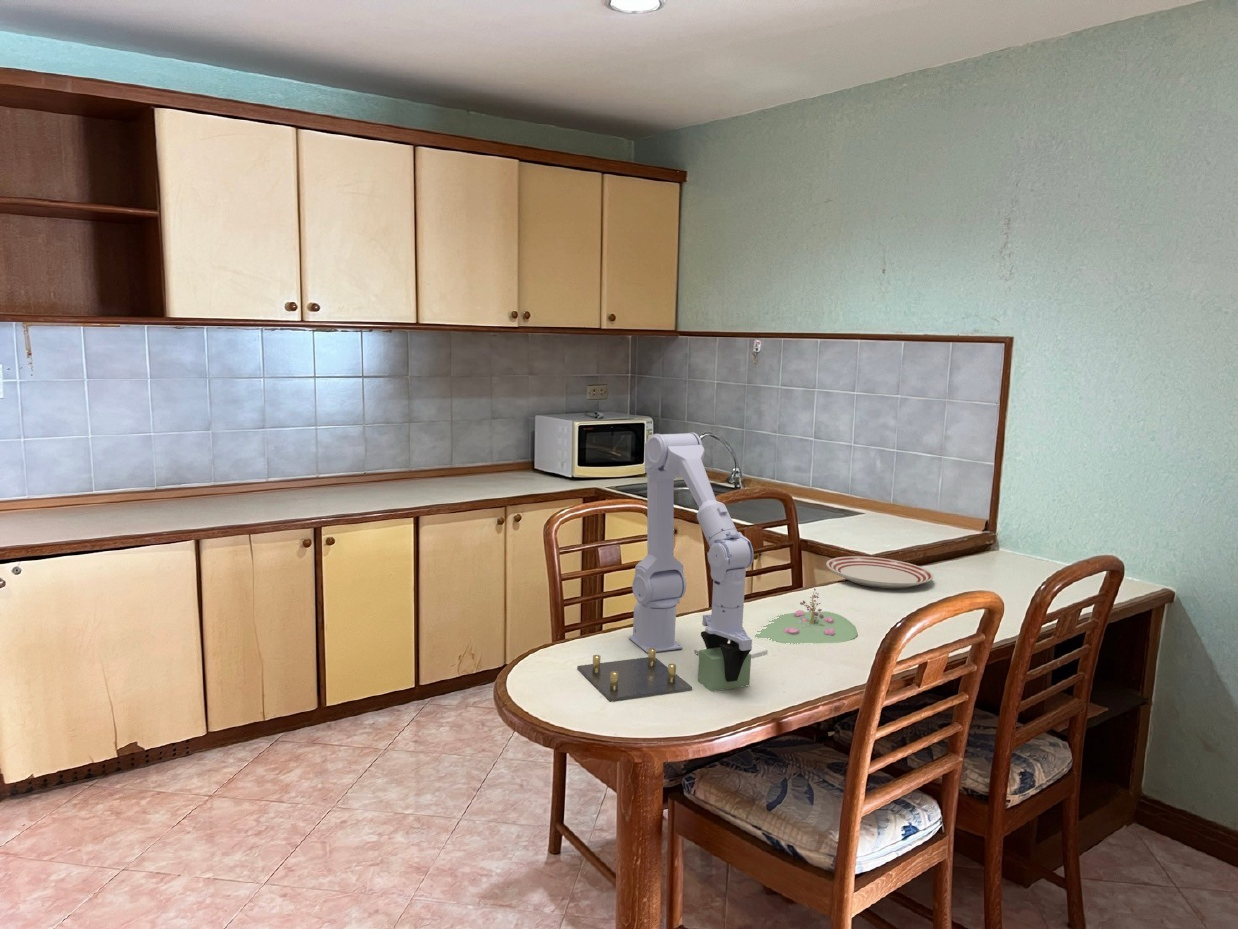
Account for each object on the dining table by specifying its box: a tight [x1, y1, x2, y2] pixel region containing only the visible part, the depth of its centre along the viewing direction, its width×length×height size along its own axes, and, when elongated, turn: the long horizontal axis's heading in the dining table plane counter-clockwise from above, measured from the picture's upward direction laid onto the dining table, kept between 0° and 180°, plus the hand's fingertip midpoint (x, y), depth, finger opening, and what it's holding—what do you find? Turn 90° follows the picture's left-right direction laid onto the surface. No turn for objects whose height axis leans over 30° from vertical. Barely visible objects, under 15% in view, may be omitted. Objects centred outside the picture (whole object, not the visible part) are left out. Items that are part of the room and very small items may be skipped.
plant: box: [754, 587, 859, 645], centre depth 199 cm, size 25×21×9 cm
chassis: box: [576, 648, 693, 703], centre depth 168 cm, size 16×16×4 cm
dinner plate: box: [825, 555, 934, 590], centre depth 243 cm, size 28×27×3 cm
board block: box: [697, 647, 752, 692], centre depth 168 cm, size 5×8×6 cm, turn 114°
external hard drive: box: [693, 640, 769, 659], centre depth 184 cm, size 2×8×12 cm
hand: (723, 675), depth 168 cm, fingers closed on board block, 5 cm apart
